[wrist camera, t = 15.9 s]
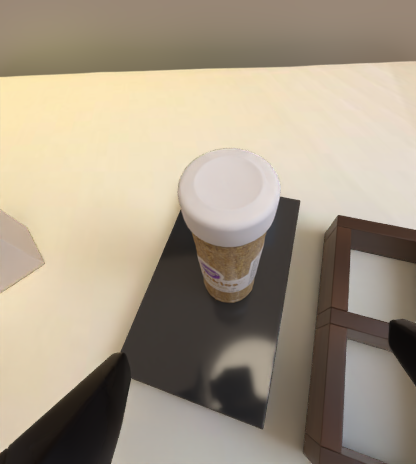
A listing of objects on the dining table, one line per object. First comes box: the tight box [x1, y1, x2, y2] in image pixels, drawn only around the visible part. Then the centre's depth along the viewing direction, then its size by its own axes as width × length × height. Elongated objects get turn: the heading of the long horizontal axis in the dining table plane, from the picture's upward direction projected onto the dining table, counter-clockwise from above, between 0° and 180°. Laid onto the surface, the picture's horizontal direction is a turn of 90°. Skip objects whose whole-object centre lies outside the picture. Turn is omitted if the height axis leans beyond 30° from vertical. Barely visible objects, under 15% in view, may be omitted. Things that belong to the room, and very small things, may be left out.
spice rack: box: [303, 215, 416, 464], centre depth 19 cm, size 18×10×4 cm, turn 163°
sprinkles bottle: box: [178, 148, 281, 303], centre depth 16 cm, size 5×5×13 cm
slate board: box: [120, 197, 300, 429], centre depth 23 cm, size 20×12×1 cm, turn 163°
